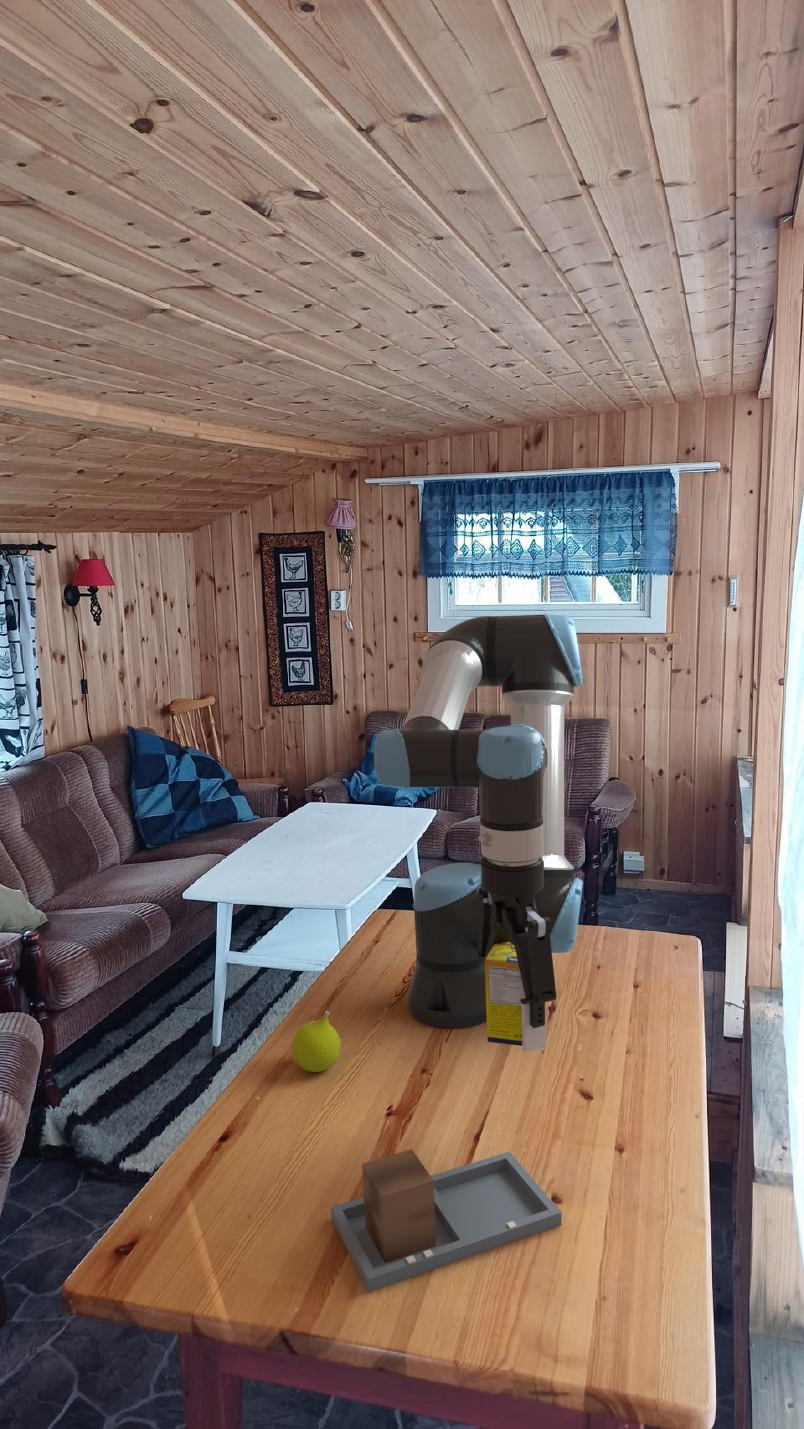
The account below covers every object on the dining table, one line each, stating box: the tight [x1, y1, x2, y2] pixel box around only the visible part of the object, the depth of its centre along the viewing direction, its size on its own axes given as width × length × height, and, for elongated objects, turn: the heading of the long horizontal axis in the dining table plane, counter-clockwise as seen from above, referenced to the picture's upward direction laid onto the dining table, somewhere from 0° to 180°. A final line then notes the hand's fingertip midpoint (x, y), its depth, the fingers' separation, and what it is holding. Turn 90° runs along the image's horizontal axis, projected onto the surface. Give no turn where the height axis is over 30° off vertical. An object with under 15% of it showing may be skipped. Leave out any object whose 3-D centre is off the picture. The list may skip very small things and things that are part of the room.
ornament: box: [291, 1010, 342, 1073], centre depth 143 cm, size 7×7×10 cm
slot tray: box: [330, 1151, 562, 1293], centre depth 110 cm, size 12×23×2 cm, turn 112°
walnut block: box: [361, 1149, 436, 1263], centre depth 108 cm, size 6×6×8 cm
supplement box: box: [485, 942, 526, 1047], centre depth 121 cm, size 6×6×11 cm
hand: (515, 1031), depth 122 cm, fingers closed on supplement box, 8 cm apart
